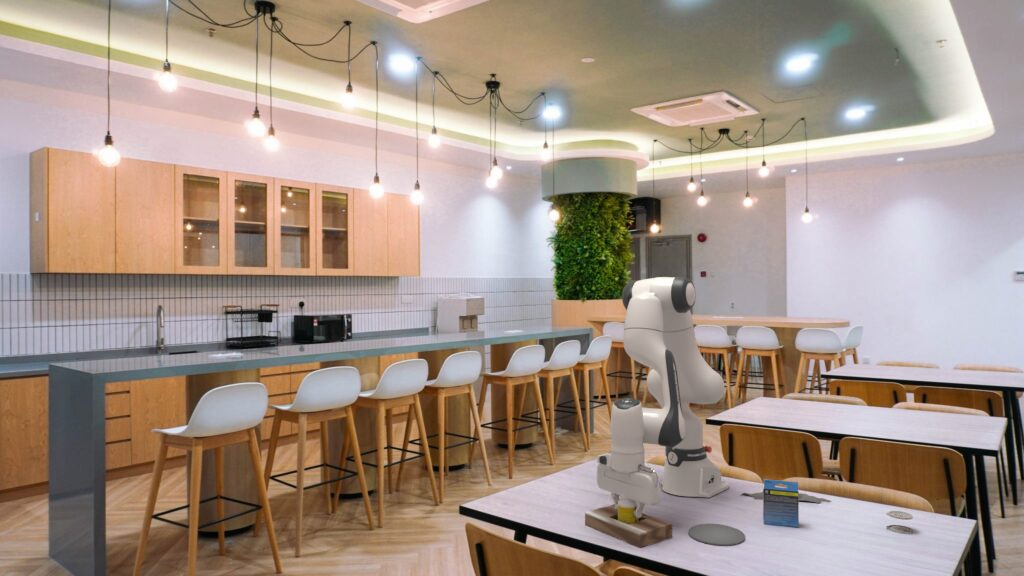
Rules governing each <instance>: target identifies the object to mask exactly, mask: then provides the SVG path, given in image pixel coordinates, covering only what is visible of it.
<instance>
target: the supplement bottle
mask: <svg viewBox="0 0 1024 576" xmlns="http://www.w3.org/2000/svg"><path fill="white" fill-rule="evenodd" d="M619 498H620V500H619V501H618V521H620V522H623V523H625V524H631V523H634V522H638V518H636V517H634V516H633V510H636V508H637V506H638V505H636V501H634V500H631V499H629V498H626V497H625V494H623V493H621V496H619Z"/></svg>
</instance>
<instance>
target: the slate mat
mask: <svg viewBox="0 0 1024 576" xmlns="http://www.w3.org/2000/svg"><path fill="white" fill-rule="evenodd" d="M688 536H689V537H690V539H691V538H692V540H695V541H697V542H699V543H702V544H705V545H710V546H716V547H717V546H718V547H730V546H731V547H733V546H738V545H740V544H742V543H744V542H745V541H746V540H745V539H746V535H745V533H744V531H741V530H740V529H738V528H736V527H733V526H729V525H727V524H726V525H725V524H721V523H700V524H694V525H692V526H691V527H689V528H688Z"/></svg>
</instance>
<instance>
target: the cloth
mask: <svg viewBox="0 0 1024 576" xmlns="http://www.w3.org/2000/svg"><path fill="white" fill-rule="evenodd" d="M741 496H749V497H751V498H754V500H762V501H763V491H762V492H754V493H748V492H742V493H741V494H740V497H741ZM799 501H801V502H805V503H816V504H822V503H824V502H825V503H831V502H832V500H830V499H826V498H821V497H817V496H814V495H809V494H807V493H800V492H799Z"/></svg>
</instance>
